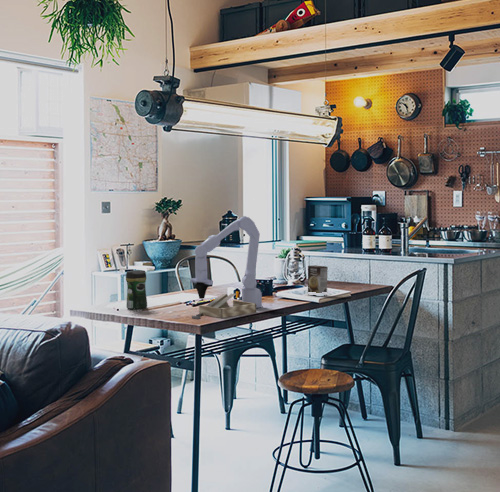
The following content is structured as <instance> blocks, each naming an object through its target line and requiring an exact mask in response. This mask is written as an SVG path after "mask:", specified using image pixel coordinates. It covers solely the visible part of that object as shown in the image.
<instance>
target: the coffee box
mask: <svg viewBox="0 0 500 492" xmlns="http://www.w3.org/2000/svg"><path fill="white" fill-rule="evenodd" d="M308 292H316V293H322V292H327V293H328V266H323V265H308V266H307V293H308Z"/></svg>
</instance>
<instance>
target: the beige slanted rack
mask: <svg viewBox="0 0 500 492" xmlns="http://www.w3.org/2000/svg"><path fill="white" fill-rule="evenodd" d="M237 294H238V293H230V294H229V295H228V293H222V294H220V295H219V296H217V297H216V298H215V299H213V300H211V302H209V303H208V304H207V305H205V306H209V307H215V308H228V307H230V305H229V303H228V301H229V300H231V298H233V297H234V296H236V295H237Z"/></svg>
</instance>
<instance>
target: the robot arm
mask: <svg viewBox="0 0 500 492" xmlns="http://www.w3.org/2000/svg"><path fill="white" fill-rule="evenodd" d="M240 230H242V231H245V233H246V234H247V235H248V236H249V240H248V250H247V257H246V265H245V266H246V267H245V271H244V276H242V280H241V281H242V285H243V287H242V288H241V301H243V302H249V303H256V309H257V308H263V306H264V305H262V304H263V299H262V298H263V296H262V295H263V293H262V292H261V291H262V290H261V289H259V288H257V284H258V283H257V278H256V274H257V273H256V268H257V261H258V260H257V259H258V252H259V244H260V243H259V242H260V232H259V229H258V228H257V225H256V223H255V222H254V221H253V219H251V218H250V217H249V216H245V215H243V216H241V217H239V219H236V220H234V221H233V222H231V223H230V224H229V225H227V226H226V227H225V228H224V229H222V230H221V231H220V232H219V233H218V234H212V235H209V236H207V237H208V238H206V240H204V241H203V242H202V241H201V242H199V243H200V244H199V245H197V246H196V247H195V249H194V254H195V257H194V258H195V261H194V268H195V269H194V271H195V273H194V274H195V277H192V278H189V279H190V283H191V284H192V283H194V287H195V289H196V292H197V295H198V298H199V299H200V300H202V299H205V297H206V292H207V290H208V288H209V286H211V285H214V280H212V279H209V278H208V260H207V255H208V253H211V252H212V251H214V250H215V248H217V247H218V246H219V245H221V241H222V240H223V239H225V238H226V237H227V236H229V235H230V234H231V233H233V232H236V231H240Z"/></svg>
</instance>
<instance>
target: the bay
mask: <svg viewBox="0 0 500 492" xmlns="http://www.w3.org/2000/svg"><path fill="white" fill-rule="evenodd" d="M201 313H203V315H202V316H209V317H213V318H219V319H222V318H230V317H234V316H235V317H236V316H240V315H241V316H242V315H247V314H253V313H257V308H256V303H249V302H243V301H242V300H235V299H234V300H233V301H232V306H229V307H228V308H215V307H209V306H206V305H203V304H202V305H201V304H200V305H198V314H201Z"/></svg>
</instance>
